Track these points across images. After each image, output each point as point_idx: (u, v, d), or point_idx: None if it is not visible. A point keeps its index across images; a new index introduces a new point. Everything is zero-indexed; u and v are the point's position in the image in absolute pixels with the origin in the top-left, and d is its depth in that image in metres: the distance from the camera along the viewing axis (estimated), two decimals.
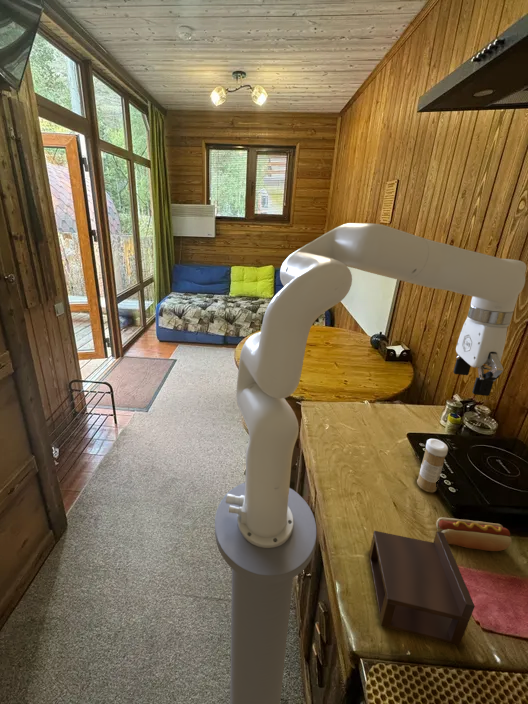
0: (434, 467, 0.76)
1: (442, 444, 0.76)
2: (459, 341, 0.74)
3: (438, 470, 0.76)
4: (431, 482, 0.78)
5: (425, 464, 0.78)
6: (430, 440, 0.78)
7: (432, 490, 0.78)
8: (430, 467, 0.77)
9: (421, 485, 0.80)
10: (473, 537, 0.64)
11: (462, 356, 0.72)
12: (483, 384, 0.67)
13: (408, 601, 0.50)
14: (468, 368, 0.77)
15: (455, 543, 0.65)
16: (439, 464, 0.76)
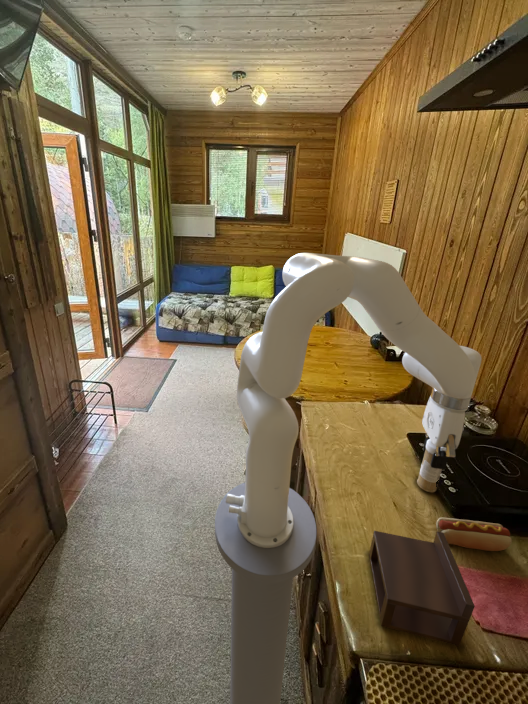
0: None
1: None
2: (425, 415, 0.79)
3: (438, 470, 0.76)
4: (431, 482, 0.78)
5: (425, 464, 0.78)
6: (430, 440, 0.78)
7: (432, 490, 0.78)
8: (430, 467, 0.77)
9: (421, 485, 0.80)
10: (473, 537, 0.64)
11: (426, 431, 0.76)
12: (439, 460, 0.74)
13: (408, 601, 0.50)
14: None
15: (455, 543, 0.65)
16: None
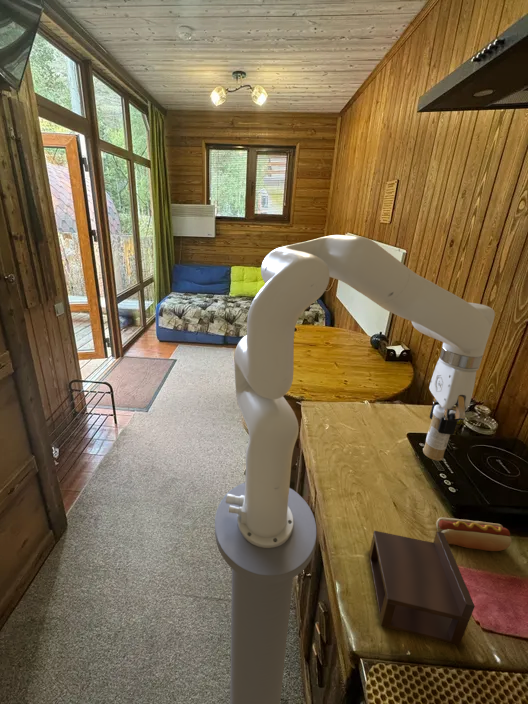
0: None
1: None
2: (432, 379, 0.75)
3: (445, 436, 0.73)
4: (438, 449, 0.74)
5: (432, 431, 0.75)
6: (438, 405, 0.74)
7: (439, 458, 0.75)
8: (437, 433, 0.73)
9: (427, 453, 0.76)
10: (473, 537, 0.64)
11: (434, 395, 0.73)
12: (447, 424, 0.70)
13: (408, 601, 0.50)
14: None
15: (455, 543, 0.65)
16: None
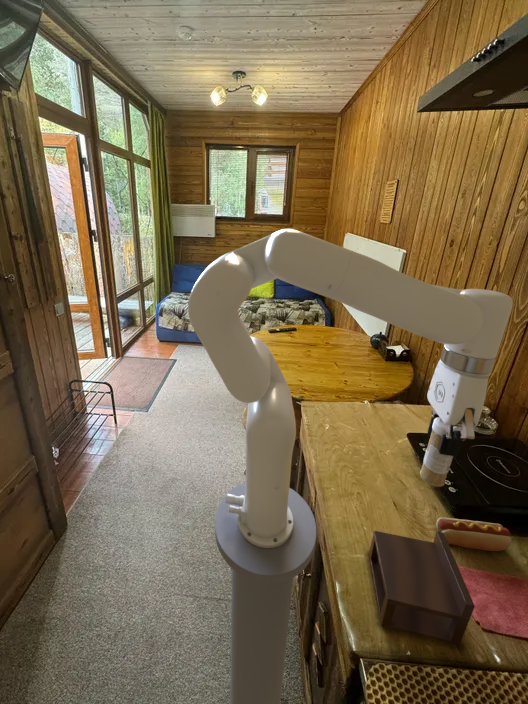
0: None
1: None
2: (431, 386, 0.61)
3: (448, 458, 0.58)
4: (439, 473, 0.60)
5: (431, 451, 0.60)
6: (438, 419, 0.60)
7: (440, 484, 0.60)
8: (438, 454, 0.59)
9: (425, 478, 0.61)
10: (473, 537, 0.64)
11: (434, 407, 0.58)
12: (450, 444, 0.56)
13: (408, 601, 0.50)
14: None
15: (455, 543, 0.65)
16: None
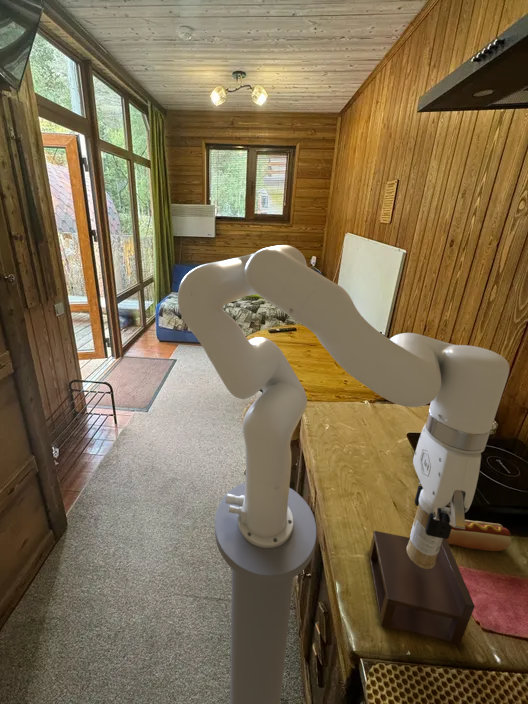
0: None
1: None
2: (417, 451, 0.52)
3: (437, 538, 0.49)
4: (427, 554, 0.51)
5: (417, 528, 0.51)
6: None
7: (429, 566, 0.51)
8: (425, 533, 0.50)
9: (412, 557, 0.53)
10: (473, 537, 0.64)
11: (419, 478, 0.50)
12: (439, 526, 0.47)
13: (408, 601, 0.50)
14: None
15: (455, 543, 0.65)
16: None
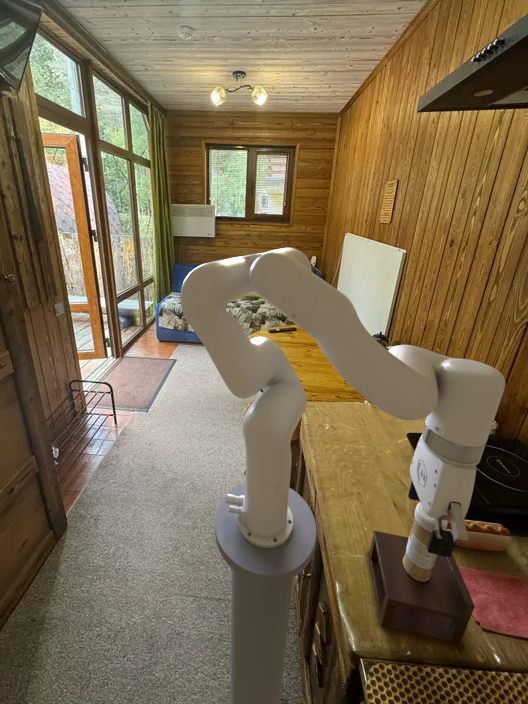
0: None
1: None
2: (413, 461, 0.53)
3: None
4: (422, 568, 0.52)
5: (413, 541, 0.52)
6: (421, 505, 0.52)
7: (424, 579, 0.52)
8: (421, 547, 0.51)
9: (408, 569, 0.54)
10: (473, 537, 0.64)
11: (416, 487, 0.50)
12: (441, 544, 0.45)
13: (408, 601, 0.50)
14: None
15: None
16: None
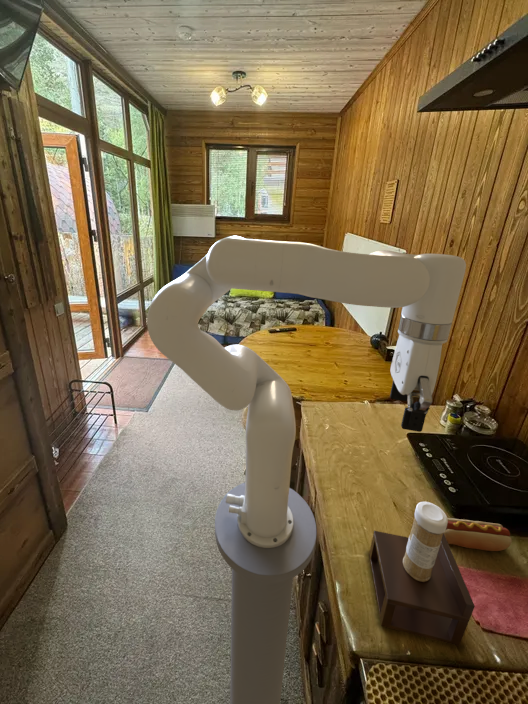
0: (427, 548, 0.50)
1: (439, 513, 0.50)
2: (393, 359, 0.59)
3: (432, 552, 0.50)
4: (422, 567, 0.52)
5: (413, 541, 0.52)
6: (421, 505, 0.52)
7: (424, 579, 0.52)
8: (421, 547, 0.51)
9: (408, 569, 0.54)
10: (473, 537, 0.64)
11: (394, 378, 0.57)
12: (412, 417, 0.52)
13: (408, 601, 0.50)
14: None
15: (455, 543, 0.65)
16: (435, 544, 0.50)
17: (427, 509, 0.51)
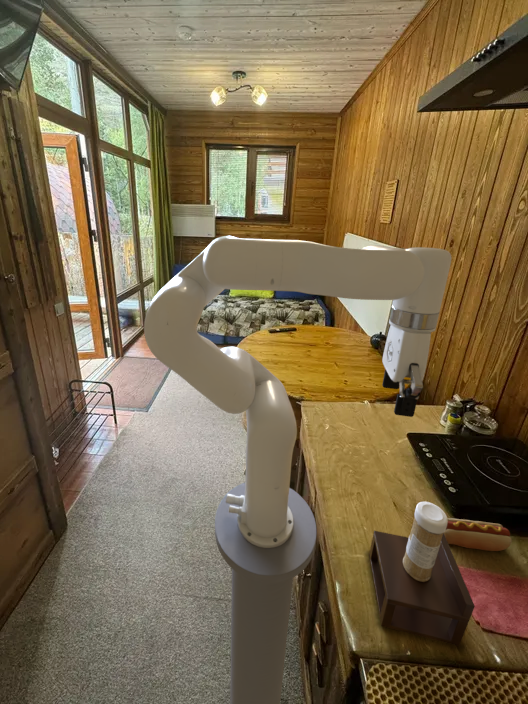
0: (427, 548, 0.50)
1: (439, 513, 0.50)
2: (385, 349, 0.62)
3: (432, 552, 0.50)
4: (422, 567, 0.52)
5: (413, 541, 0.52)
6: (421, 505, 0.52)
7: (424, 579, 0.52)
8: (421, 547, 0.51)
9: (408, 569, 0.54)
10: (473, 537, 0.64)
11: (386, 367, 0.60)
12: (404, 403, 0.54)
13: (408, 601, 0.50)
14: None
15: (455, 543, 0.65)
16: (435, 544, 0.50)
17: (427, 509, 0.51)
